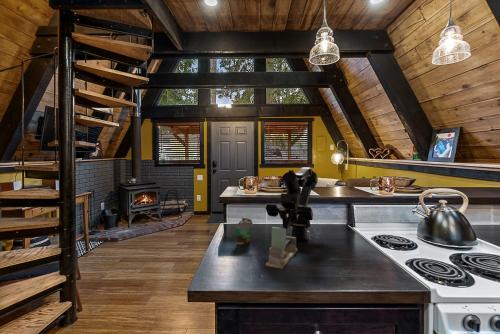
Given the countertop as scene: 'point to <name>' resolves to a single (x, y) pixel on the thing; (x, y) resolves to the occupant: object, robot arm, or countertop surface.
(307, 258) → the countertop surface
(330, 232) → the countertop surface
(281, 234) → the grey-green notched block
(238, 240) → the food container
